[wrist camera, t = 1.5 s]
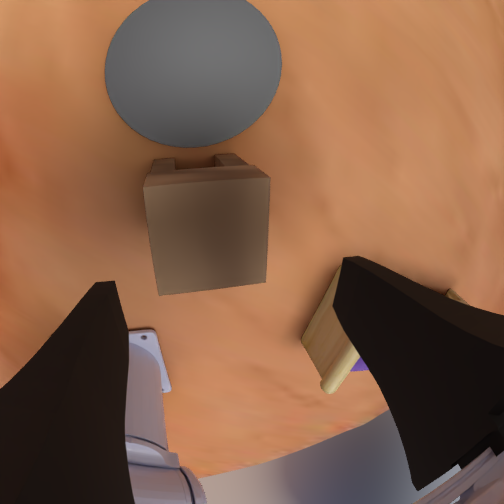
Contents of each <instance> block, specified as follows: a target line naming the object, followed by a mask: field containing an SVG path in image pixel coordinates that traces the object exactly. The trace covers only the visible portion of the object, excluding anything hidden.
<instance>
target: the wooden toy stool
mask: <svg viewBox="0 0 504 504" xmlns="http://www.w3.org/2000/svg"><path fill="white" fill-rule="evenodd" d="M143 192H144V201H145V210H146V218H147V225H148V233H149V240H150V247H151V253H152V259H153V265H154V271H155V277H156V283H157V288H158V293H159V296H162V295H171V294H180V293H188V292H196V291H204V290H212V289H220V288H228V287H236V286H243V285H250V284H258V283H265V282H266V269H267V248H268V225H269V201H270V177H269V176H268V175H266V174H265V173H264V172H262V171H261V170H260V169H259V168H257V167H256V166H255V165H249V164H247V163H246V162H245V161H243V160H242V159H241V158H240V157H238V156H237V155H236V154H217V155H215V167H207V168H194V169H182V170H175V160H174V158H165V159H155V160H154V162H153V165H152V169H151V172H150V173H147V176H146V179H145V183H144V186H143Z"/></svg>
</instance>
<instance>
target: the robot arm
mask: <svg viewBox="0 0 504 504" xmlns="http://www.w3.org/2000/svg"><path fill="white" fill-rule="evenodd" d="M332 307H333V309H334V311H335V313H336V316H337V318H338V320H339V322H340V324H341V326H342V328H343V330H344V332H345V333H346V335H347V337H348V338H349V340H350V341H351V343H352V344H353V346H354V348H355V349H356V351H357V352H358V354H359V355H360V357H361V358H362V360H363V361H364V363H365V364H366V366H367V367H368V369H369V371H370V372H371V374H372V375H373V377H374V378H375V380H376V382H377V384H378V385H379V387H380V389H381V391H382V393H383V396H384V398H385V400H386V402H387V404H388V406H389V409H390V411H391V413H392V416H393V418H394V421H395V423H396V426H397V428H398V431H399V434H400V437H401V440H402V443H403V446H404V450H405V453H406V457H407V461H408V465H409V469H410V474H411V479H412V483H413V485H414V486H415V488H416V490H417V491H419V490H421V489H422V488H424V487H425V486H427V485H428V484H430V483H431V482H433V481H434V480H436V479H437V478H439V477H440V476H442V475H443V474H445V473H446V472H447V471H449V470H450V469H452V468H453V467H454V466H455V465H457V464H459V466H460V468H461V469H462V470H461V471H459V472H458V473H457V474H455V475H454V476H453V477H451V478H450V479H449V480H448V481H446V482H445V483H443V484H442V485H440V486H439V487H437V488H436V489H435V490H433V491H432V492H430V493H429V494H427V495H426V496H424V497H423V498H421V499H419V500H418V501H416V502H415V503H413V504H450V503H451V502H452V501H454V500H455V499H456V498H457V497H459V496H460V500H459V501H458V502H455V503H454V504H504V315H500V314H496V313H492V312H489V311H485V310H482V309H478V308H475V307H472V306H469V305H467V304H464V303H462V302H459V301H456V300H454V299H451V298H449V297H446V296H444V295H442V294H439V293H437V292H435V291H433V290H431V289H429V288H426V287H424V286H422V285H420V284H418V283H416V282H414V281H412V280H410V279H408V278H406V277H404V276H402V275H400V274H398V273H396V272H394V271H392V270H390V269H388V268H386V267H384V266H381V265H379V264H377V263H375V262H373V261H370V260H368V259H365V258H363V257H360V256H353V257H345V258H343V261H342V266H341V271H340V275H339V279H338V284H337V288H336V292H335V297H334V301H333V305H332ZM142 335H145V337H143V336H142ZM170 391H171V384H170V380H169V377H168V374H167V370H166V367H165V363H164V360H163V356H162V353H161V349H160V345H159V342H158V338H157V334H156V332H155V331H154V330H151V329H148V330H138V331H128V328H127V325H126V321H125V318H124V314H123V311H122V307H121V303H120V300H119V296H118V292H117V288H116V284H115V281H106V282H96V283H95V284H94V285H93V286H92V287H91V288H90V289H89V290H88V292H87V293H86V294H85V295H84V297H83V298H82V299H81V300H80V301H79V303H78V304H77V305H76V306H75V308H74V309H73V310H72V311H71V313H70V314H69V315H68V316H67V317H66V319H65V320H64V321H63V322H62V324H61V325H60V326H59V327H58V328H57V330H56V331H55V332H54V333H53V334H52V335H51V337H50V338H49V339H48V340H47V341H46V342H45V344H44V345H43V346H42V347H41V348H40V350H39V351H38V352H37V353H36V354H35V355H34V356H33V357H32V358H31V360H30V361H29V362H28V363H27V364H26V365H25V366H24V367H23V368H22V369H21V370H20V371H19V372H18V373H17V374H16V375H15V376H14V377H13V378H12V379H11V380H10V381H9V382H8V383H6V384H5V385H4V386H3V387H2V388H1V389H0V504H207V501H206V496H205V492H204V490H203V487H202V485H201V483H200V482H199V480H198V479H197V477H196V476H195V475H194V473H193V472H192V471H191V470H190V469H189V468H187V467H185V466H180V465H179V459H178V454H177V453H172V452H169V450H168V443H167V435H166V426H165V417H164V407H163V396H162V393H165V392H170Z"/></svg>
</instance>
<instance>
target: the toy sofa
mask: <svg viewBox="0 0 504 504" xmlns="http://www.w3.org/2000/svg"><path fill="white" fill-rule="evenodd" d="M341 266H342V265H341ZM341 266H340V267H339V268H338V270H337V272H336V274H335V276H334V278H333V280H332V282H331V284H330V286H329V288H328V290H327V292H326V294H325V295H324V297H323V299H322V301H321V303H320V305H319V307H318V308H317V310H316V312H315V314H314V316H313V318H312V319H311V321H310V323H309V325H308V327H307V329H306V331H305V332H304V334H303V336H302V338H301V342H302V344H303V346H304V348H305V349H306V351H307V353H308V355H309V356H310V358H311V360H312V361H313V363H314V365H315V367H316V369H317V370H318V372H319V374H320V376H321V378H322V380H321V382H320V386H321V389H322V390H323V391H324V392H325V393H328V394H332V393H334V392H335V391H336V390H337V388H338V387H339V386H340V384H341V383H342V382H343V380H344V379H345V377H346V376H347V375H348V373H349V372H350V371H363V370H369V369H368V367H367V366H366V364H365V363H364V361H363V360H362V358H361V357H360V355H359V354H358V352H357V351H356V349H355V348H354V346H353V344H352V343H351V341H350V340H349V338H348V337H347V335H346V333H345V332H344V330H343V328H342V326H341V324H340V322H339V320H338V318H337V316H336V313H335V311H334V309H333V307H332V305H333V301H334V297H335V292H336V288H337V284H338V279H339V275H340V271H341ZM445 296H446V297H449V298H451V299H454V300H456V301H459V302H462V303H464V304H467V305H469V304H468V303H467V302H466V301H465V300H463V299H462V298H461V297H460V296H459V295H458V294H457V293H456V292H454V291H453V290H452V289H449V291H448V292H447V294H446V295H445ZM469 306H470V305H469Z"/></svg>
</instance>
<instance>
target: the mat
mask: <svg viewBox="0 0 504 504" xmlns="http://www.w3.org/2000/svg"><path fill="white" fill-rule="evenodd" d="M281 68H282V59H281V50H280V45H279V42H278V39H277V36H276V34H275V32H274V30H273V28H272V26H271V25H270V23H269V22H268V21H267V19H266V18H265V17H264V16H263V14H262V13H261V12H260V11H259V10H258V9H256V8H255V7H254V6H253V5H252V4H250V3H249V2H247V1H246V0H149V1H147V2H146V3H144V4H142V5H141V6H140V7H139V8H137V9H136V10H135V11H134V12H132V13H131V14H130V15H129V16H128V17H127V18H126V20H125V21H124V22H123V23H122V25H121V26H120V27H119V29H118V30H117V32H116V34H115V35H114V37H113V39H112V41H111V44H110V47H109V49H108V53H107V57H106V63H105V82H106V87H107V91H108V95H109V97H110V100H111V102H112V104H113V106H114V108H115V109H116V111H117V113H118V114H119V115H120V117H121V118H122V119H123V120H124V121H125V122H126V123H127V124H128V125H129V126H130V127H131V128H132V129H134V130H135V131H136V132H138V133H139V134H141V135H142V136H144V137H146V138H148V139H150V140H152V141H155V142H158V143H161V144H164V145H169V146H174V147H183V148H188V147H202V146H208V145H212V144H217V143H220V142H222V141H225V140H228V139H230V138H232V137H234V136H236V135H238V134H239V133H241V132H242V131H244V130H245V129H247V128H248V127H249V126H251V125H252V124H253V123H254V122H255V121H256V120H257V119H258V118H259V117H260V116H261V115H262V114H263V113H264V111H265V110H266V109H267V107H268V106H269V104H270V103H271V101H272V99H273V97H274V95H275V93H276V90H277V88H278V85H279V81H280V77H281Z"/></svg>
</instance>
